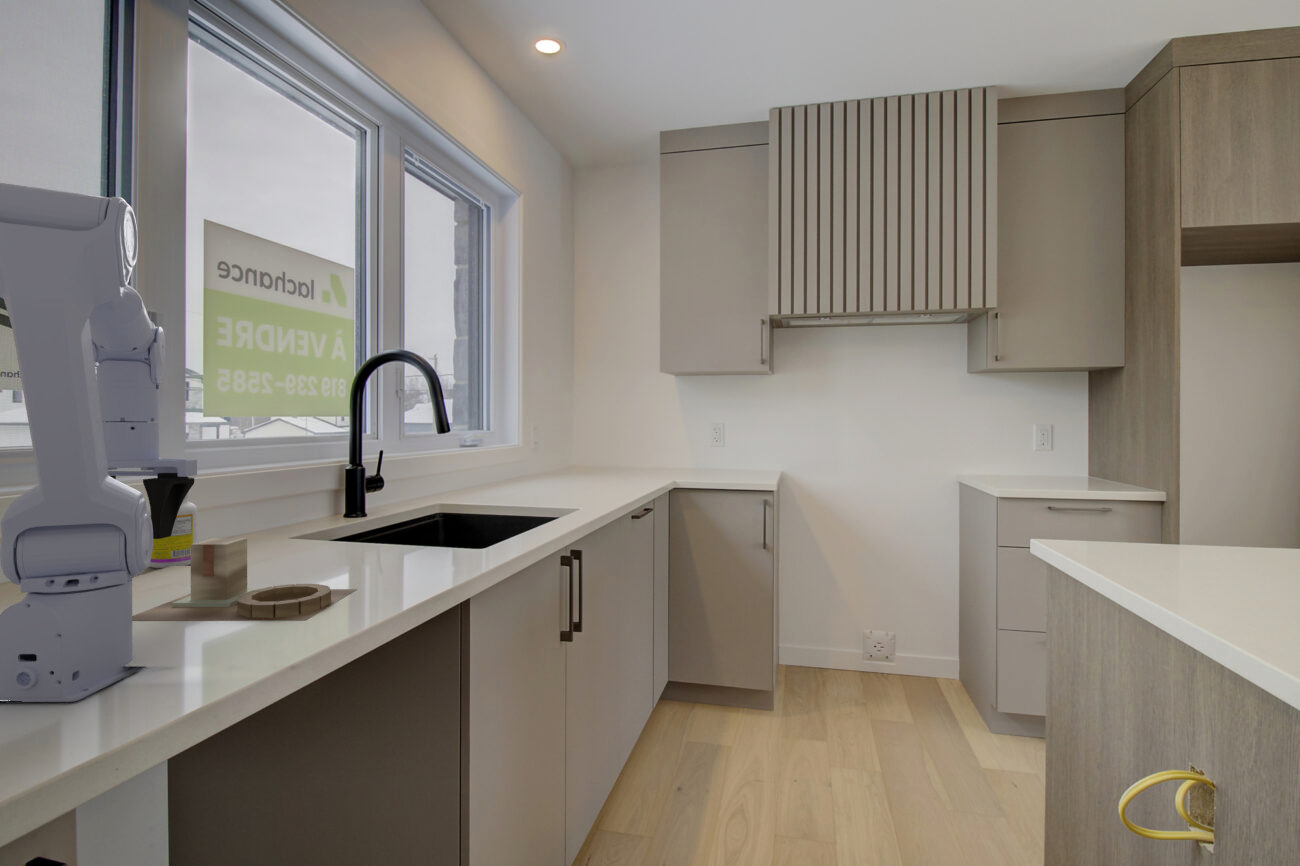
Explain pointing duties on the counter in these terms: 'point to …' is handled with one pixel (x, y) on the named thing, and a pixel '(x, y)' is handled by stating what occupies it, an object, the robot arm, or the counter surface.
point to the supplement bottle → (177, 539)
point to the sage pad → (209, 601)
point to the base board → (256, 605)
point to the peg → (218, 568)
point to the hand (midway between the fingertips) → (129, 537)
